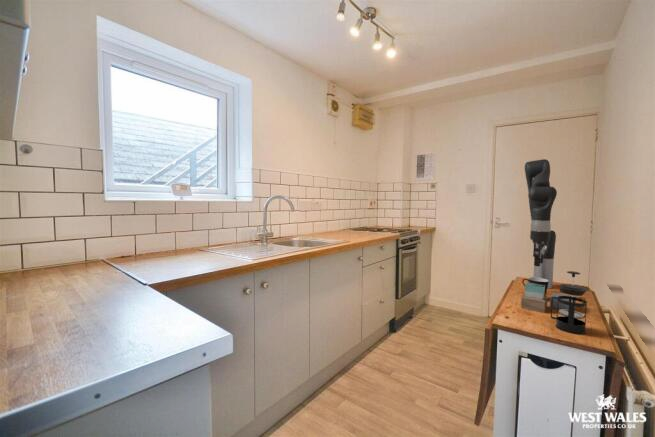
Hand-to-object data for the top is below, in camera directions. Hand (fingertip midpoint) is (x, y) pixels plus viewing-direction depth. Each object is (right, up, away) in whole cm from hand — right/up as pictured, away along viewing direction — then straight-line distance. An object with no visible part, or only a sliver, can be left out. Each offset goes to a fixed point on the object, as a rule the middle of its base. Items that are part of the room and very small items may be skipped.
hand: (538, 264), depth 140 cm
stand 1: (-1, -21, +2) cm, 21 cm away
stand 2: (+13, -21, +3) cm, 25 cm away
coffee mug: (+10, -20, +17) cm, 28 cm away
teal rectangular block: (-1, -16, +2) cm, 16 cm away
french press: (-2, -23, -21) cm, 31 cm away
